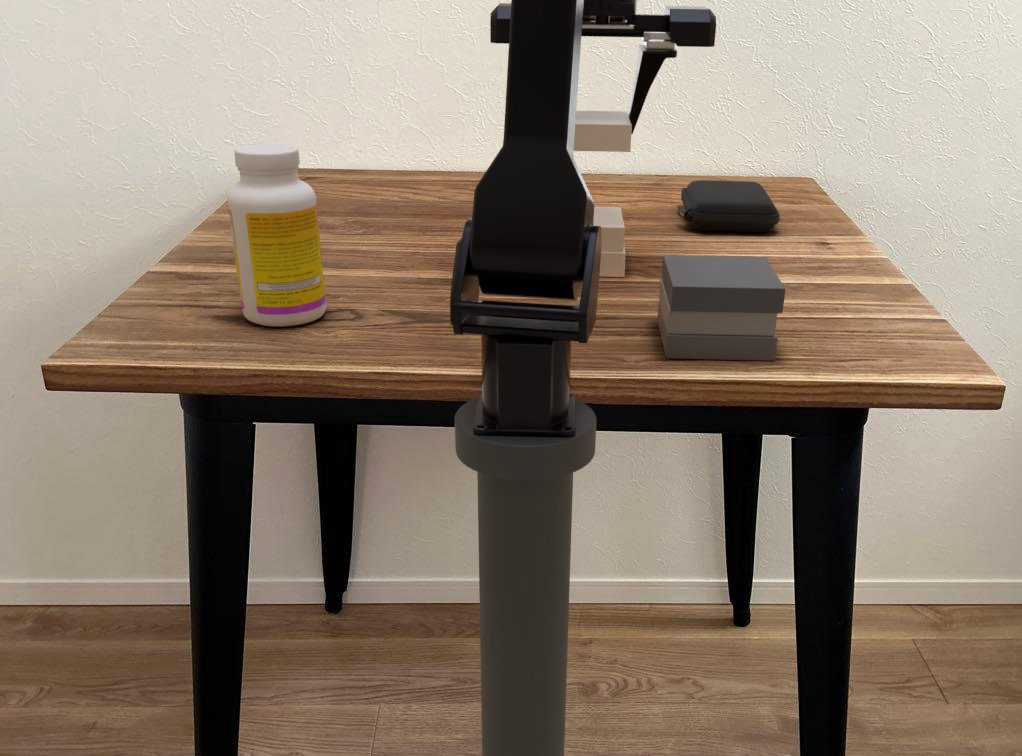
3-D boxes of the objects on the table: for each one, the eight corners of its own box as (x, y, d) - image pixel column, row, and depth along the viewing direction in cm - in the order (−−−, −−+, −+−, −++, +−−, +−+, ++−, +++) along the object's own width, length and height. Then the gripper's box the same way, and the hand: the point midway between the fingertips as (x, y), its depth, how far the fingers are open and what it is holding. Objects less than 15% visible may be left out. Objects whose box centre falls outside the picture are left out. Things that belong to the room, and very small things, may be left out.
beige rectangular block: (630, 152, 91) (631, 124, 90) (566, 150, 91) (567, 123, 90) (625, 136, 98) (627, 111, 96) (566, 135, 98) (566, 110, 97)
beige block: (624, 277, 96) (627, 228, 94) (558, 275, 96) (559, 226, 94) (620, 252, 104) (622, 206, 101) (559, 251, 104) (560, 205, 101)
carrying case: (670, 203, 123) (678, 234, 110) (672, 176, 122) (680, 204, 109) (762, 205, 123) (780, 236, 110) (765, 178, 121) (784, 206, 108)
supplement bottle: (343, 316, 85) (330, 148, 79) (274, 335, 81) (254, 159, 74) (294, 298, 89) (277, 137, 83) (226, 315, 85) (202, 147, 78)
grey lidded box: (776, 361, 77) (785, 288, 75) (666, 358, 77) (671, 286, 75) (757, 324, 85) (765, 256, 82) (657, 322, 85) (661, 254, 82)
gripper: (708, -68, 93) (693, 121, 101) (497, -71, 93) (498, 118, 101) (725, -69, 83) (707, 140, 91) (489, -72, 83) (490, 137, 91)
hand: (597, 133), depth 94 cm, fingers closed on beige rectangular block, 5 cm apart
